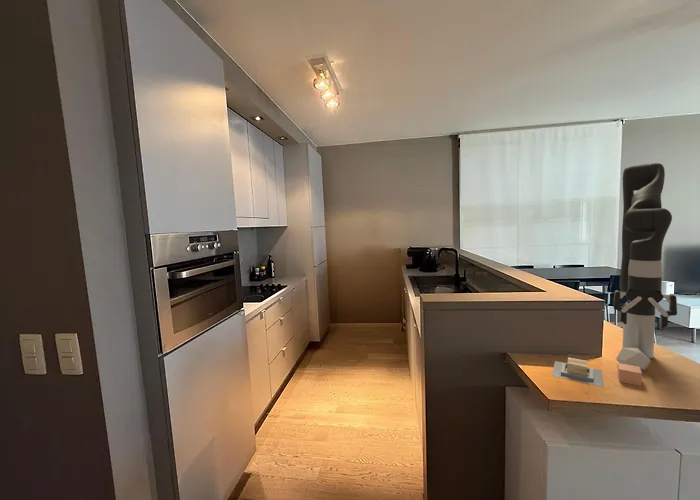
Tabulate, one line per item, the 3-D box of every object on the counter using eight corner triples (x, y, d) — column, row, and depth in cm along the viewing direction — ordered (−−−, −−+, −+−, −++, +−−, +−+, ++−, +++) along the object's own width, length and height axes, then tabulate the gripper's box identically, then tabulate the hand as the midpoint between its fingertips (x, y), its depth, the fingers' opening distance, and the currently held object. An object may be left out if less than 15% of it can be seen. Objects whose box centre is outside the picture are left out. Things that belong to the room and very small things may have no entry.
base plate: (555, 364, 120) (555, 358, 120) (601, 373, 111) (601, 367, 111) (551, 379, 109) (551, 372, 109) (603, 390, 100) (603, 384, 100)
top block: (617, 378, 108) (618, 362, 107) (639, 382, 105) (639, 366, 104) (618, 385, 104) (619, 369, 103) (641, 389, 100) (641, 373, 100)
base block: (567, 367, 114) (568, 357, 114) (586, 371, 111) (587, 360, 110) (567, 373, 110) (567, 363, 109) (586, 378, 106) (587, 366, 106)
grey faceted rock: (650, 380, 107) (659, 355, 109) (623, 365, 109) (633, 341, 111) (632, 377, 115) (641, 354, 117) (607, 364, 117) (617, 341, 119)
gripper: (674, 273, 94) (672, 325, 96) (613, 271, 103) (612, 318, 104) (681, 277, 88) (678, 333, 90) (615, 274, 97) (613, 325, 98)
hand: (642, 325), depth 97 cm, fingers open, 8 cm apart
